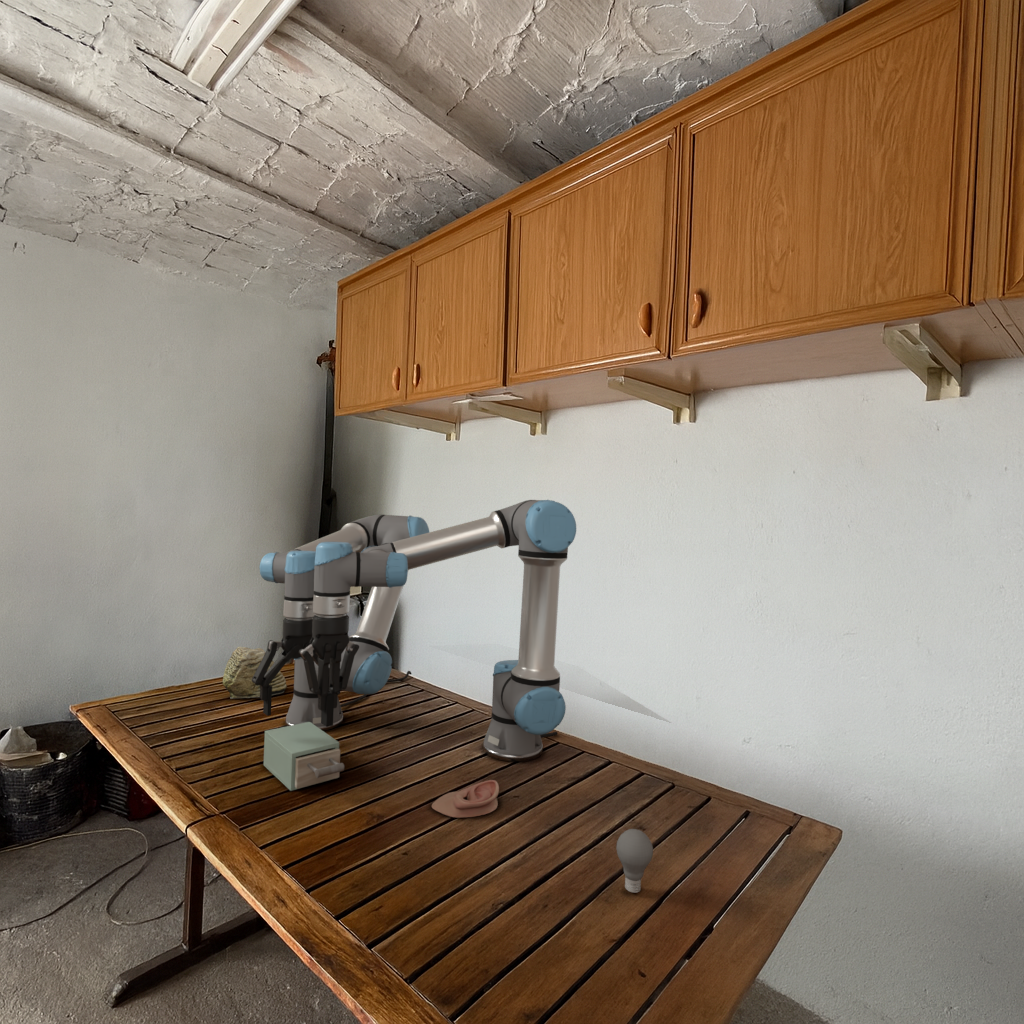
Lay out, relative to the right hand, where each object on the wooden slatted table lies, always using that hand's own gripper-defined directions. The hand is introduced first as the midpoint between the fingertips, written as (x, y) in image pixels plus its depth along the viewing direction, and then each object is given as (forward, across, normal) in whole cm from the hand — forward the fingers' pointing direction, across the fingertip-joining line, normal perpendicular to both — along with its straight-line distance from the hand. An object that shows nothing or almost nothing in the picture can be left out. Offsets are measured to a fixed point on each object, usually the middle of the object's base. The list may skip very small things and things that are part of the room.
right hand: (326, 724), depth 136 cm
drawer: (+14, 0, +7) cm, 16 cm away
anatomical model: (+15, +21, -23) cm, 34 cm away
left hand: (+1, 0, +16) cm, 16 cm away
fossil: (+15, +11, +73) cm, 76 cm away
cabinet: (+15, 0, +13) cm, 20 cm away
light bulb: (+15, +26, -63) cm, 69 cm away
